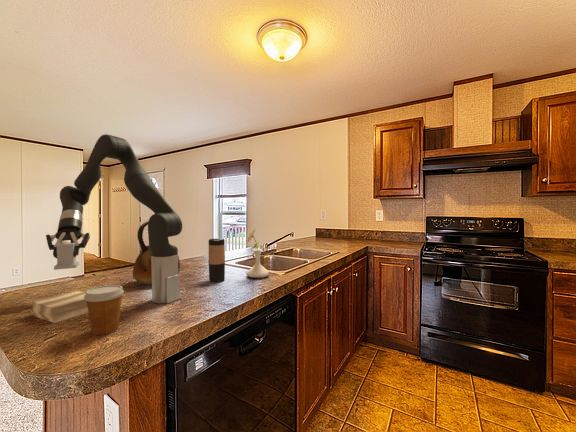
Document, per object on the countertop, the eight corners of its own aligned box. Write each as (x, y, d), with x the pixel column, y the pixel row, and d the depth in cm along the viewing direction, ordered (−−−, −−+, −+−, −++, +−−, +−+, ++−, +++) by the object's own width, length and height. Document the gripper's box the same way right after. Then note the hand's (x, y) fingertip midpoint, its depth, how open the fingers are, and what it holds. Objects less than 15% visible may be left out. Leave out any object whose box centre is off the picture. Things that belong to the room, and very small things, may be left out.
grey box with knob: (78, 264, 109) (78, 239, 108) (75, 267, 103) (75, 240, 103) (58, 266, 106) (57, 240, 105) (54, 269, 100) (53, 242, 100)
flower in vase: (254, 273, 147) (254, 226, 146) (273, 275, 142) (272, 227, 141) (240, 278, 135) (239, 228, 134) (259, 281, 130) (259, 229, 129)
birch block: (98, 309, 96) (98, 295, 95) (54, 324, 84) (53, 308, 84) (77, 304, 101) (77, 290, 101) (33, 316, 89) (32, 301, 89)
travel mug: (210, 283, 127) (210, 240, 126) (207, 279, 134) (206, 239, 133) (226, 281, 130) (226, 239, 130) (222, 277, 137) (222, 238, 136)
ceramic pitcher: (187, 281, 130) (186, 219, 130) (143, 291, 115) (141, 220, 114) (168, 274, 143) (168, 218, 142) (126, 282, 128) (125, 219, 127)
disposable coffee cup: (98, 323, 83) (97, 284, 83) (130, 322, 84) (130, 284, 83) (76, 338, 74) (75, 295, 73) (113, 337, 74) (112, 293, 74)
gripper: (46, 217, 107) (38, 252, 97) (91, 216, 114) (87, 248, 104) (50, 229, 111) (42, 264, 101) (93, 228, 119) (90, 260, 108)
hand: (65, 256), depth 103 cm, fingers closed on grey box with knob, 4 cm apart
